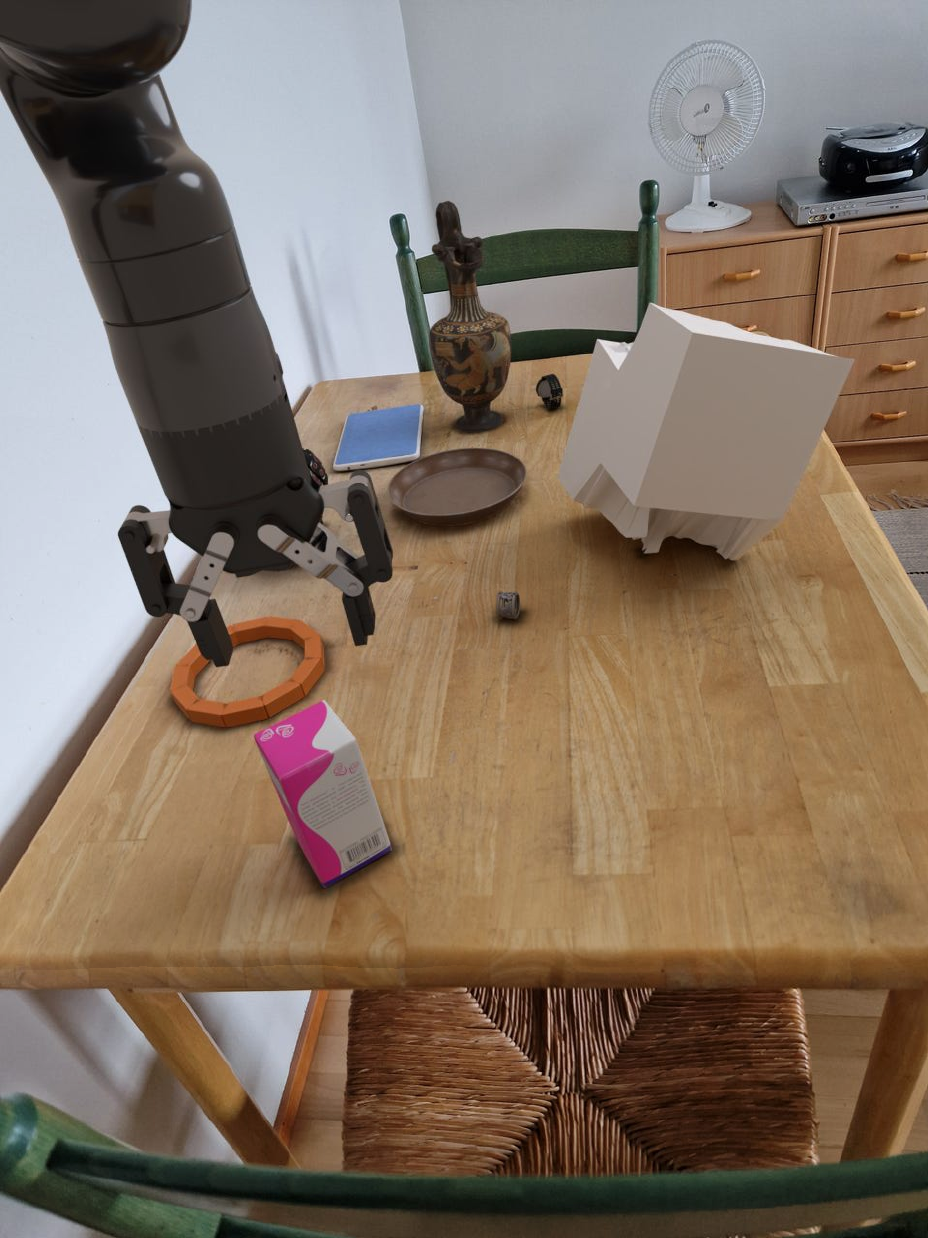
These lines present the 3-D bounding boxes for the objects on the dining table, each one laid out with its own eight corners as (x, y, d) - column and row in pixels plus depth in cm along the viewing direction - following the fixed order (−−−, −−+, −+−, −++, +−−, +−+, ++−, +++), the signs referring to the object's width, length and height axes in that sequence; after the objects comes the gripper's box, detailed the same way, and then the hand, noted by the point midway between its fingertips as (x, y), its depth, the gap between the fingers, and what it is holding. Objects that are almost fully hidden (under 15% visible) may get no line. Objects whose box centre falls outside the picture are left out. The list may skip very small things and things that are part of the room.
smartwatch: (564, 400, 127) (562, 368, 125) (564, 413, 123) (561, 381, 120) (537, 403, 128) (534, 371, 125) (536, 416, 124) (533, 384, 121)
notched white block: (547, 498, 97) (609, 274, 84) (670, 510, 101) (747, 299, 88) (603, 591, 81) (691, 332, 67) (747, 602, 85) (855, 359, 72)
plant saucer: (539, 520, 99) (537, 497, 97) (393, 545, 99) (388, 523, 97) (518, 458, 113) (515, 438, 111) (390, 481, 113) (386, 460, 112)
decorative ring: (503, 608, 85) (500, 583, 84) (521, 608, 85) (518, 584, 83) (497, 624, 83) (494, 600, 81) (516, 625, 83) (512, 600, 81)
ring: (216, 749, 74) (210, 736, 73) (154, 679, 84) (148, 667, 83) (352, 669, 81) (348, 656, 80) (280, 612, 91) (275, 600, 90)
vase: (451, 444, 120) (414, 220, 103) (435, 415, 130) (399, 206, 113) (529, 426, 121) (505, 202, 104) (507, 399, 131) (482, 190, 114)
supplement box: (360, 803, 66) (326, 695, 60) (393, 851, 62) (360, 740, 55) (294, 839, 64) (250, 731, 58) (323, 891, 60) (280, 781, 53)
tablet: (420, 462, 117) (418, 453, 116) (332, 474, 118) (330, 465, 117) (424, 410, 133) (423, 402, 132) (347, 421, 134) (346, 413, 133)
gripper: (44, 447, 39) (166, 706, 48) (344, 398, 38) (409, 669, 48) (93, 391, 45) (193, 630, 54) (352, 347, 44) (408, 596, 54)
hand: (294, 648), depth 51 cm, fingers open, 8 cm apart
